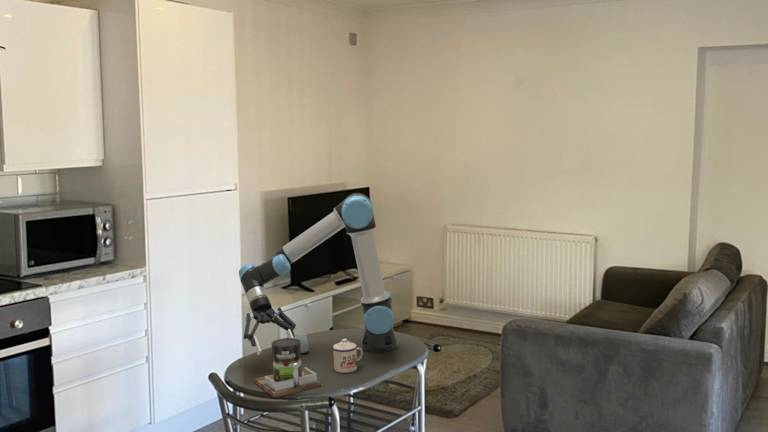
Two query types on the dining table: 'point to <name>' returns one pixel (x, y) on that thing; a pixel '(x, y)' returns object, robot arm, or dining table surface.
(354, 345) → the teacup with lid
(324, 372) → the dining table surface
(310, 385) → the board
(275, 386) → the keeper cradle
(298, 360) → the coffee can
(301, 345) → the ceramic mug
